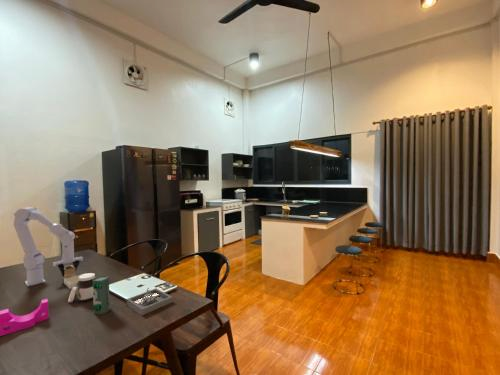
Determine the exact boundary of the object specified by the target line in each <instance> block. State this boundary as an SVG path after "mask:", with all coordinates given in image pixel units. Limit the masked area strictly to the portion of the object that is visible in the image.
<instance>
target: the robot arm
mask: <svg viewBox="0 0 500 375" xmlns="http://www.w3.org/2000/svg"><path fill="white" fill-rule="evenodd" d="M13 216H14V219H13V220H14V221H13V227H14V229H15V232H16V235H17V237H18V240H19V242H20V245H21V247H22V249H23V252H24V255H23V257H22V259H23V267H24V268H25V270H26V280H25V281H24V283H25V285H26V286H27V287H31V286H35V285H39V284H43V283H46V280H45V279H44V262H45V261H46V257H45V255H44V254H42V252H41V250H39V249H38V248H37V246H36V244H35V240H34V238H33V235H32V233H31V230H30V228H29V226H28V224H29V223H30V221H32V220H33V221H38V223H41V224H42V225H44V226H46V227H47V228H49V232H50V233H52V234H53V235H54V236H56V237H57V238H59V241H60V243H61V250H62V251H61V256H62V259H61V260H58V261H54V262H52V266H53V267H58V269H59V271H60V273H61V278H63V277H64V267H65V264H70V263H72V266H74V267H75V271H76V272H77V270H78V267H79V265H80V261H84V257H83V256H76V257H75V245H74V244H75V242H74V241H75V240H74V239H75V238H76V234H75V233H74V231H71V230H69V229H67V228H65V227H64V226H63V224H62V223H60V224H59V223H55V222H54V221H52V220H51V219H50V218H48V217H47V216H46V215H45V214H44V213H43V212H42V211H41V210H40V209H38V208H37V207H35V206H28V207H21V208H19V209H17V210H16V211H15V212H14V213H13Z"/></svg>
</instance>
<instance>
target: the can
mask: <svg viewBox="0 0 500 375" xmlns="http://www.w3.org/2000/svg"><path fill="white" fill-rule="evenodd" d="M110 298H111V297H110V277H109V275H100V276H95V278H94V279H93V299H92V300H93V301H92V302H93V314H94V315H99V316H100V315H103V314H106V313H108V312H109V311H110V309H111V305H110V304H111V303H110V302H111V301H110V300H111V299H110Z"/></svg>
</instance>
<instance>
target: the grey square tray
mask: <svg viewBox="0 0 500 375" xmlns="http://www.w3.org/2000/svg"><path fill="white" fill-rule="evenodd" d="M150 290H151V291H149V292H147V291H145V292H142V293H140V294H136V295H134V296H131V297H127V298H126V306H128V307H129V308H130V309H132V310H133V311H134V312H136V314H138V315H139V316H141V317H143V316H145V315H147V314H150V313H152V312H154V311H156V310H158V309H160V308H163V307H165V306H167V305H169V304H172V303H173V296H172V295H169V294H168V293H166V292H164V291H162V290H160V289H159V288H157V287H156V288H153V289H150ZM152 293H153V294H154V293H157V294H159V296H160V297H157V298H156V299H157V302H153V303H152V304H151V303H149V305H148V304H146V305H141V304H140V305H138V304H137V303H135V302H134V301H136V300H138V299H141V298H143V297H144V295H147V294H152Z"/></svg>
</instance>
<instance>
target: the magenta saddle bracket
mask: <svg viewBox="0 0 500 375" xmlns="http://www.w3.org/2000/svg"><path fill="white" fill-rule="evenodd" d="M45 320H49V300H48V298H45V299H41V301H40V304H39V305H38V307H37V308H36V309H35V310H33V311H32V312H30V313H28V314H25V315H16V314H13V313H12V312H11V311H10V309H9V308H6V309H2V310H0V337H1V336H5V335H8V334H12V333H15V332H18V331H22V330H25V329H27V328H31V327H34V326H36V323H39V322H43V321H45Z"/></svg>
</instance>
